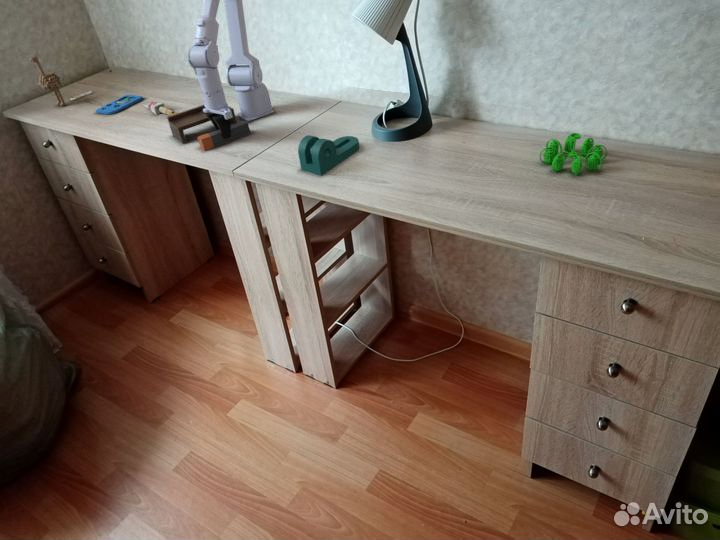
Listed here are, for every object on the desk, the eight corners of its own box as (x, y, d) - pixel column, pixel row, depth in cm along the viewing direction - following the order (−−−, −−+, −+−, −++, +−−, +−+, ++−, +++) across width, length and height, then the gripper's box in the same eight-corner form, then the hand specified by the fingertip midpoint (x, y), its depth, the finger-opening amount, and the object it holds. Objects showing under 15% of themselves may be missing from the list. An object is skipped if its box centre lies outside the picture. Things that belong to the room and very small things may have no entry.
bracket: (321, 175, 139) (316, 146, 134) (301, 170, 143) (296, 141, 138) (364, 146, 150) (361, 118, 145) (345, 142, 153) (341, 114, 148)
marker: (246, 131, 167) (243, 119, 164) (250, 133, 165) (248, 122, 163) (200, 148, 160) (197, 136, 158) (204, 150, 158) (201, 139, 156)
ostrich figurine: (57, 110, 200) (34, 59, 189) (47, 107, 203) (24, 57, 192) (97, 93, 210) (78, 44, 199) (88, 91, 213) (68, 43, 202)
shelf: (226, 117, 177) (221, 98, 173) (237, 124, 172) (232, 104, 168) (173, 136, 169) (166, 116, 166) (183, 143, 164) (176, 124, 160)
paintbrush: (148, 96, 191) (181, 109, 180) (151, 104, 193) (183, 117, 182) (138, 100, 189) (171, 113, 178) (141, 108, 191) (173, 122, 180)
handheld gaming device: (94, 109, 192) (126, 93, 202) (95, 112, 193) (127, 96, 203) (111, 111, 189) (142, 95, 199) (112, 114, 190) (143, 98, 200)
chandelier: (525, 164, 133) (527, 137, 129) (565, 142, 139) (568, 116, 135) (579, 185, 123) (584, 156, 119) (619, 161, 129) (625, 133, 125)
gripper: (188, 88, 156) (202, 133, 165) (210, 100, 147) (223, 148, 155) (211, 81, 160) (223, 126, 168) (234, 92, 150) (245, 139, 158)
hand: (224, 136), depth 162 cm, fingers closed on marker, 2 cm apart
